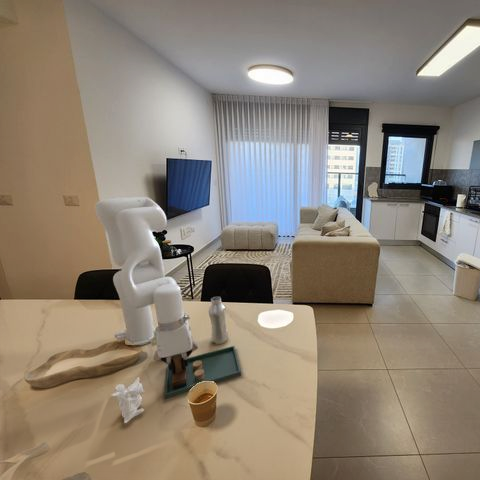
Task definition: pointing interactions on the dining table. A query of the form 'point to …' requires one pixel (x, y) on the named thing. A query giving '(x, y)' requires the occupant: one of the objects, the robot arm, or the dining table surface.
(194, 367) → the crumb
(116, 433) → the dining table surface
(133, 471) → the dining table surface
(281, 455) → the dining table surface
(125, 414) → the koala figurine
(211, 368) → the tray
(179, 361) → the brush
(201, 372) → the crumb
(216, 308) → the plastic bottle
